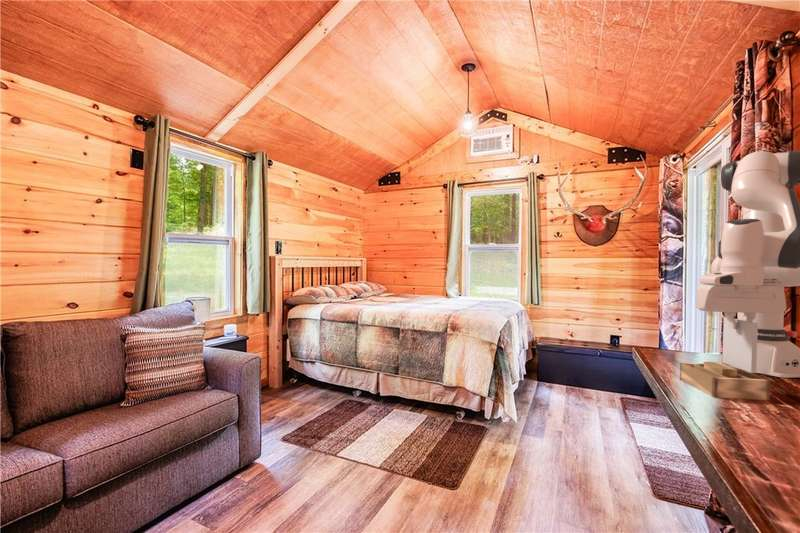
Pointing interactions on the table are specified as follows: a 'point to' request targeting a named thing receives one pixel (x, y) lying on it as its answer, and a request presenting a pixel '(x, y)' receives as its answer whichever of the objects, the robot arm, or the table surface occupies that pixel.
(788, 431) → the table surface
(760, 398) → the rack
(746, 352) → the sheet
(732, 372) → the offcut top
